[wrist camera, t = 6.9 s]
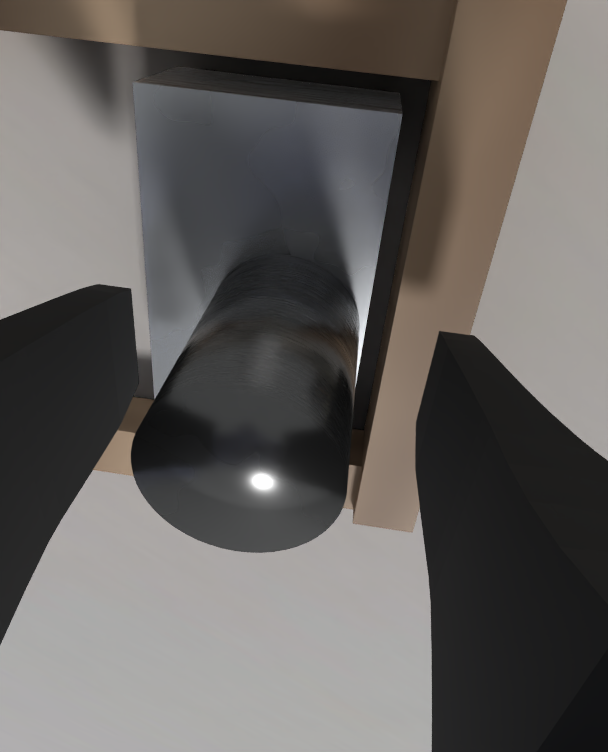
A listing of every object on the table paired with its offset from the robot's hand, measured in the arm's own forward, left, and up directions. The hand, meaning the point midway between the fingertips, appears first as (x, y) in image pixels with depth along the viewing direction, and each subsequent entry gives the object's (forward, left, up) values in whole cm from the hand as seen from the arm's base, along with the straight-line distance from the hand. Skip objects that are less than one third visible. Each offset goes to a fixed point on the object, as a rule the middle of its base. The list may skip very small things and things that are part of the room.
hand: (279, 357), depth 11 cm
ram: (-1, 0, -4) cm, 4 cm away
